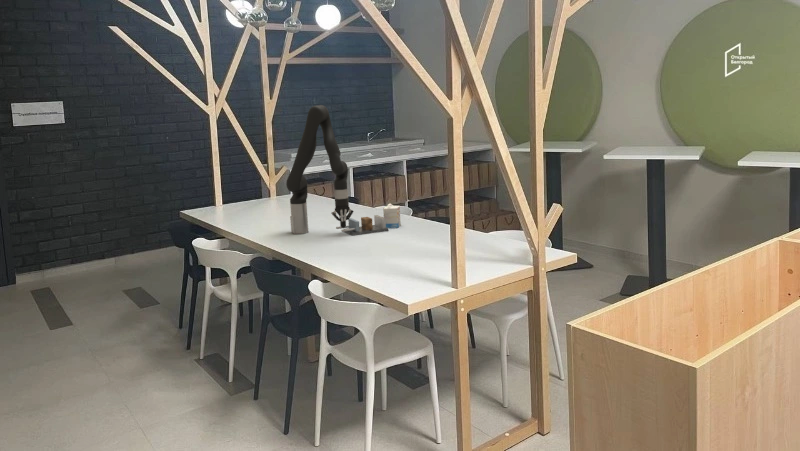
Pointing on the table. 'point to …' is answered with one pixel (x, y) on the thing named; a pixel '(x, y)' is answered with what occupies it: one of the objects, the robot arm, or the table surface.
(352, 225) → the sliding jaw
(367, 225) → the block
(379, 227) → the vise base
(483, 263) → the table surface
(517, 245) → the table surface
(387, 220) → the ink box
